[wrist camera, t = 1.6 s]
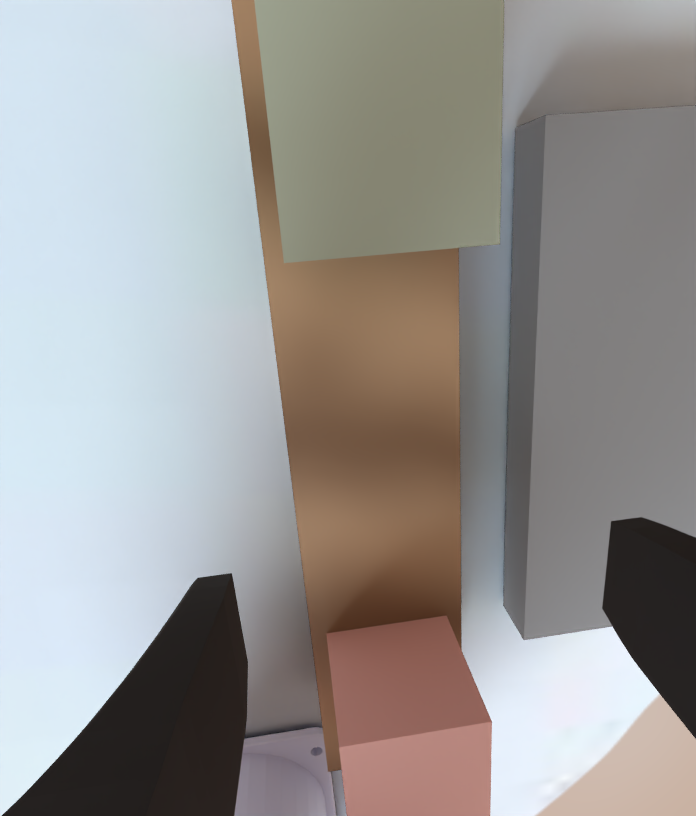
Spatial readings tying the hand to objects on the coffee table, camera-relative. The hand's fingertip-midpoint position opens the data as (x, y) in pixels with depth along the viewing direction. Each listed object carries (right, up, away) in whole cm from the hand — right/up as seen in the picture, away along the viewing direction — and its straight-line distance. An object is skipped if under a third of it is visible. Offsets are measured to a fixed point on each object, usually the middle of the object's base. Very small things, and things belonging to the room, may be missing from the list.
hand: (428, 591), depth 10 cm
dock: (+8, +4, +10) cm, 13 cm away
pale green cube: (-1, +9, +3) cm, 10 cm away
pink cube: (0, -6, +8) cm, 10 cm away
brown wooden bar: (-1, +3, +9) cm, 10 cm away
